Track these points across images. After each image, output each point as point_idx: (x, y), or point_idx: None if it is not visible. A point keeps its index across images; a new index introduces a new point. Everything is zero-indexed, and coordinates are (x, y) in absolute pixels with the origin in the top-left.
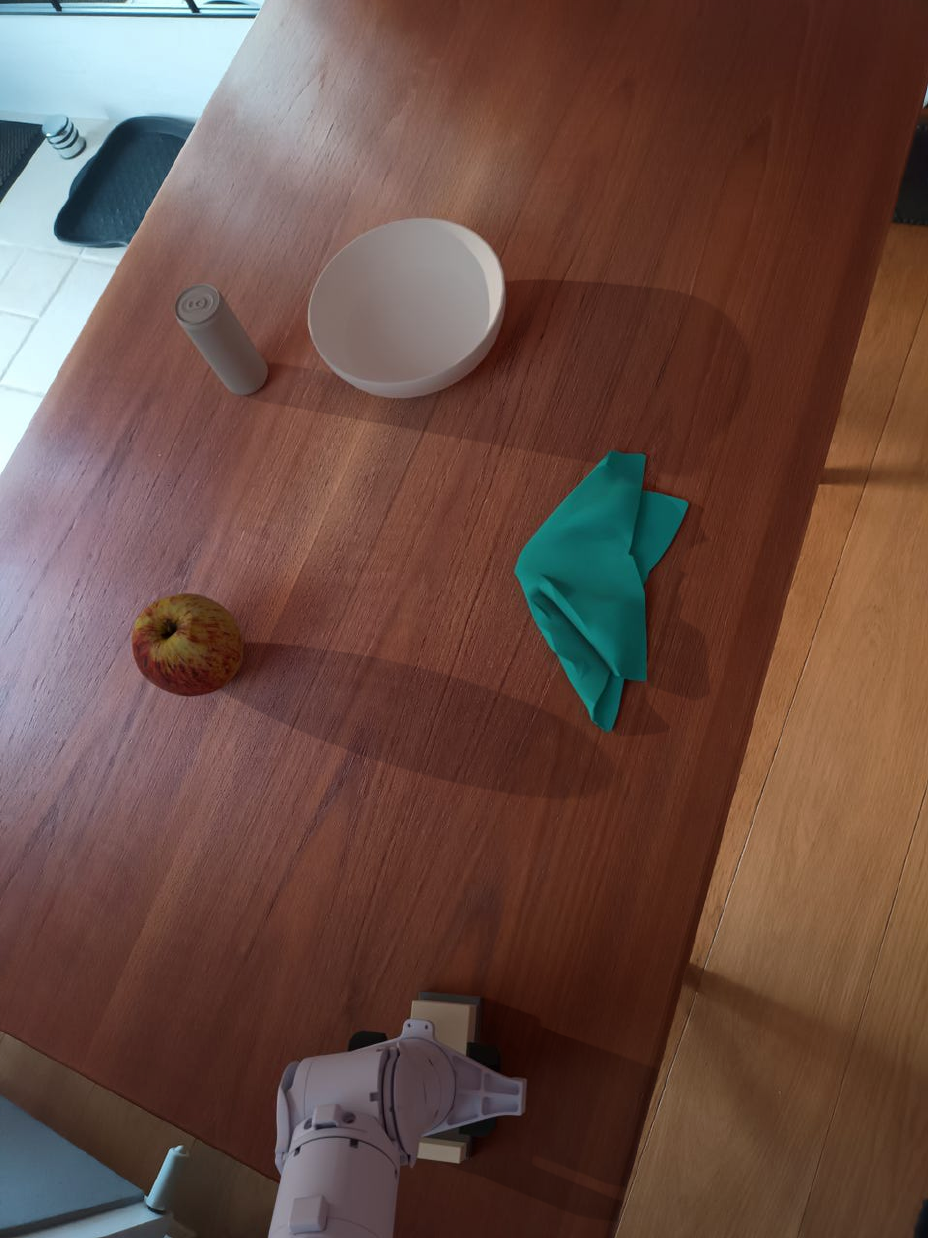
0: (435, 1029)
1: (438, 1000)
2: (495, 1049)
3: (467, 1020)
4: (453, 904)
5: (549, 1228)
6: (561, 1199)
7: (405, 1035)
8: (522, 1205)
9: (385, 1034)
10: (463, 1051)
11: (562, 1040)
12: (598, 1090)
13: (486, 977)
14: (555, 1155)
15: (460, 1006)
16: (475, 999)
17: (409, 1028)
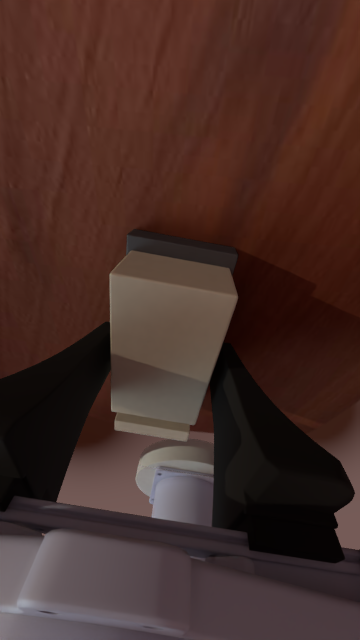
0: (161, 327)
1: (162, 253)
2: (350, 489)
3: (227, 319)
4: (204, 10)
5: None
6: None
7: (41, 615)
8: None
9: (22, 416)
10: (211, 361)
11: (336, 314)
12: (352, 365)
13: (248, 214)
14: (277, 403)
15: (217, 295)
16: (229, 258)
17: (53, 615)
